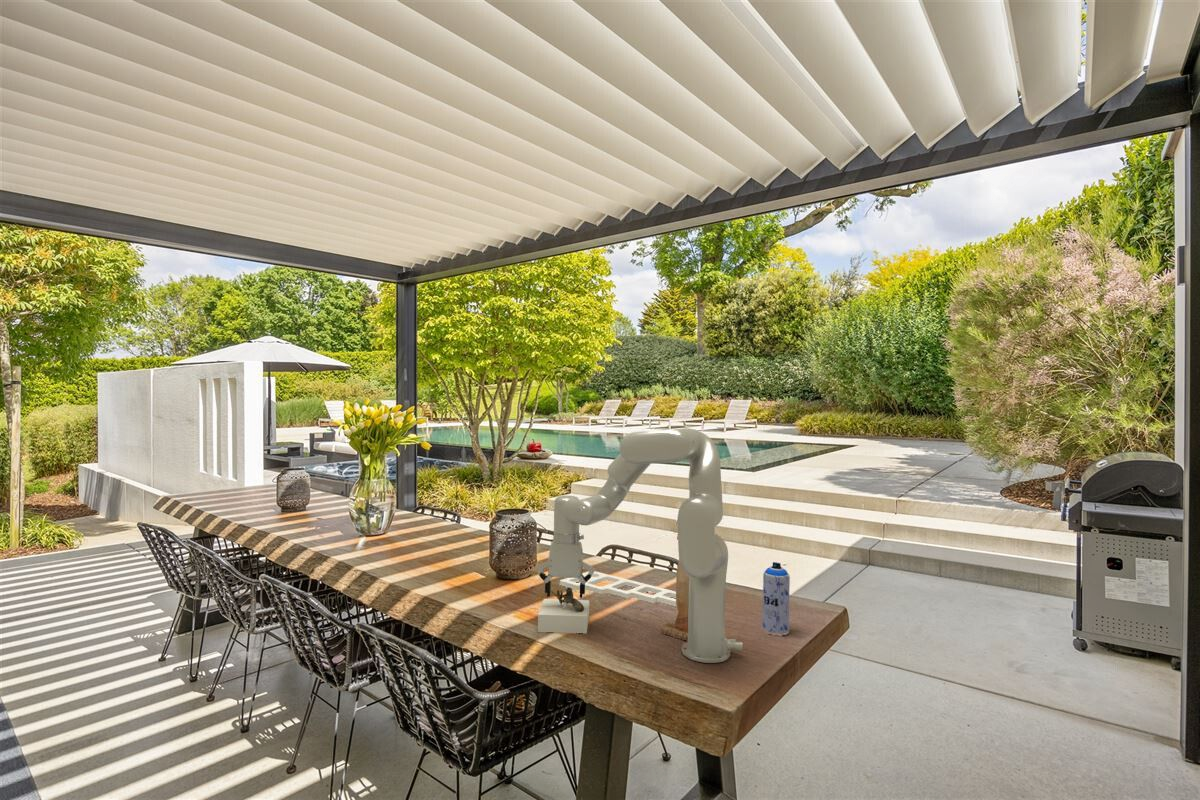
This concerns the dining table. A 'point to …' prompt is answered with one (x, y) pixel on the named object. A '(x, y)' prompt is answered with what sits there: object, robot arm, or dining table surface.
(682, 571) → the bird sculpture
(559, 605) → the stand
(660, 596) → the holder
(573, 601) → the eagle figurine
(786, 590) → the aerosol can
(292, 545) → the dining table surface
